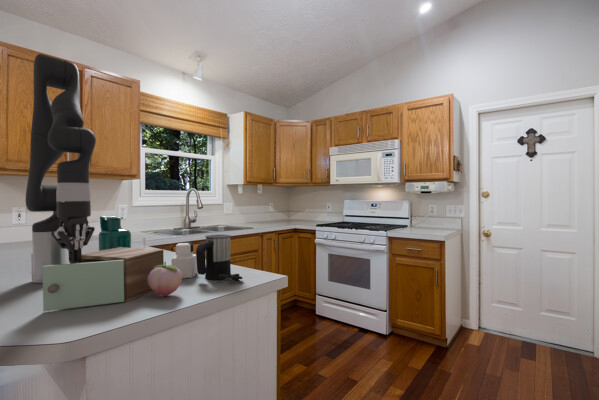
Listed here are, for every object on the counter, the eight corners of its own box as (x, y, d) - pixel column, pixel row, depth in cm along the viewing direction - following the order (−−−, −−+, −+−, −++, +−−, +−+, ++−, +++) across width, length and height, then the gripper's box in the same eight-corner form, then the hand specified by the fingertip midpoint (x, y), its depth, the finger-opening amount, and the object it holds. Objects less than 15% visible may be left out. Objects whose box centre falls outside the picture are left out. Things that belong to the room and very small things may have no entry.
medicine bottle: (177, 273, 116) (177, 241, 115) (197, 273, 116) (196, 241, 116) (171, 278, 108) (171, 244, 108) (192, 277, 109) (191, 244, 109)
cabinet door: (41, 313, 76) (40, 267, 76) (44, 310, 78) (44, 265, 78) (123, 303, 82) (122, 261, 82) (124, 300, 84) (123, 259, 84)
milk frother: (213, 273, 116) (212, 233, 116) (252, 274, 113) (252, 234, 113) (192, 283, 102) (191, 238, 102) (236, 286, 99) (236, 239, 99)
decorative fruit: (188, 292, 92) (188, 259, 92) (171, 301, 84) (171, 265, 84) (161, 290, 94) (161, 258, 94) (142, 299, 86) (141, 264, 86)
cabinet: (79, 295, 90) (78, 254, 90) (120, 282, 104) (119, 247, 103) (127, 301, 85) (126, 258, 85) (163, 287, 98) (163, 249, 98)
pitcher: (133, 276, 112) (133, 215, 111) (109, 282, 104) (108, 217, 104) (119, 273, 117) (118, 215, 117) (95, 278, 110) (94, 216, 110)
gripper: (79, 200, 91) (80, 258, 91) (39, 200, 78) (40, 268, 78) (103, 199, 91) (104, 258, 91) (67, 199, 78) (69, 268, 78)
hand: (75, 263), depth 84 cm, fingers closed
